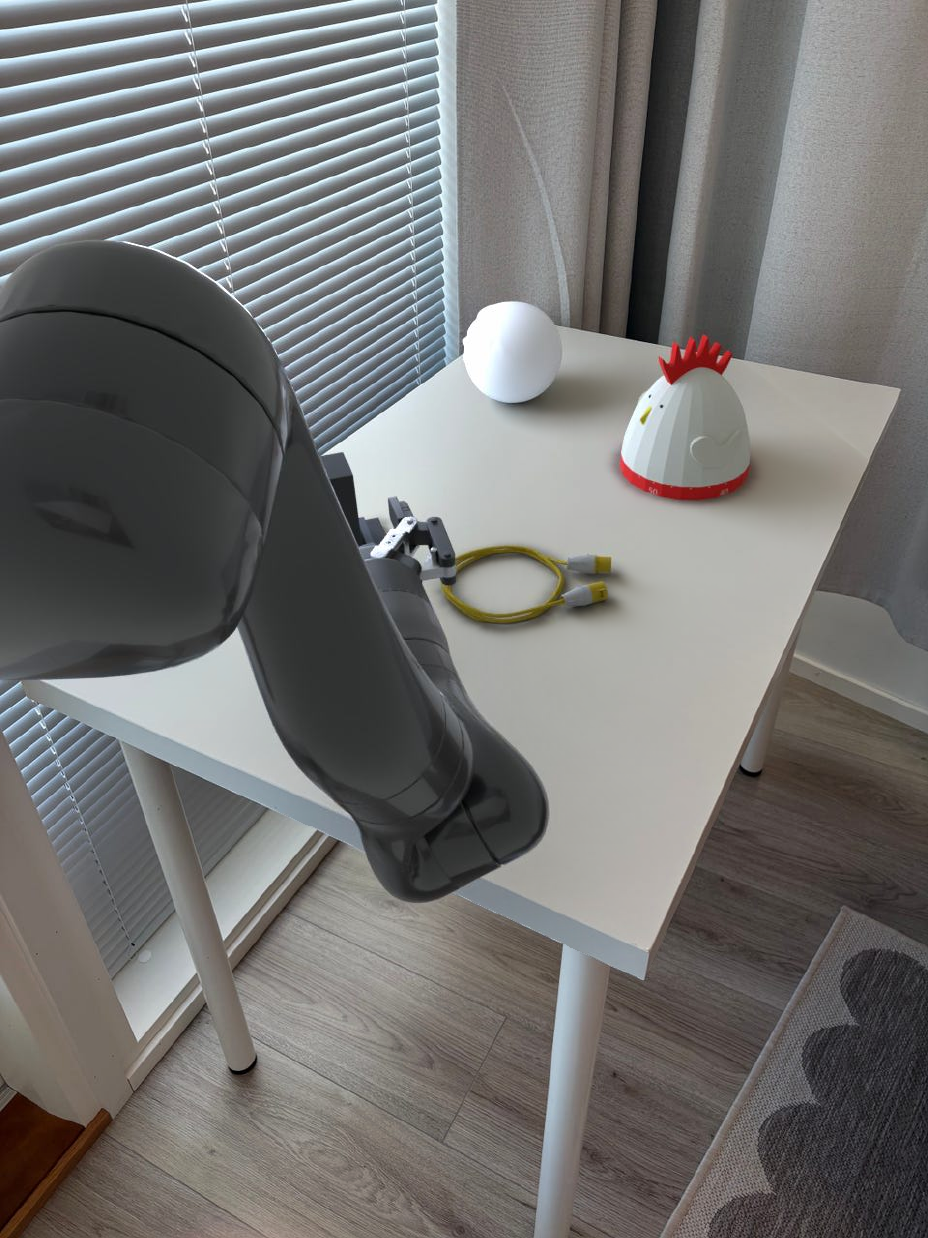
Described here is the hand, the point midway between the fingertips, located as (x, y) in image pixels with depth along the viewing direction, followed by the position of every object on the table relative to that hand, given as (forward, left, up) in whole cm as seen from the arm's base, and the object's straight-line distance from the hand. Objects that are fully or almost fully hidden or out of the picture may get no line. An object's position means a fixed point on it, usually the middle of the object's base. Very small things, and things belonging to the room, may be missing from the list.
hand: (341, 515), depth 77 cm
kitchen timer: (+40, +16, -13) cm, 45 cm away
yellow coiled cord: (+16, +1, -13) cm, 21 cm away
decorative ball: (+28, +39, -13) cm, 50 cm away
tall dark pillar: (0, +11, -12) cm, 16 cm away
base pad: (0, +11, -13) cm, 17 cm away
